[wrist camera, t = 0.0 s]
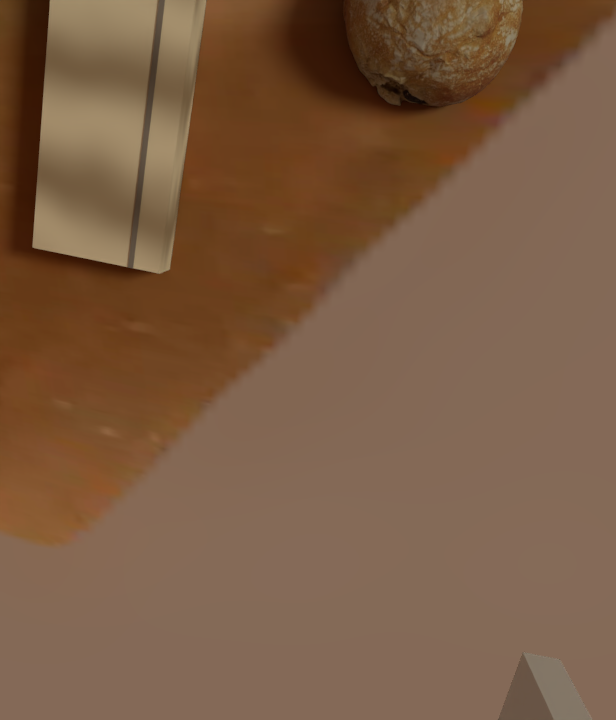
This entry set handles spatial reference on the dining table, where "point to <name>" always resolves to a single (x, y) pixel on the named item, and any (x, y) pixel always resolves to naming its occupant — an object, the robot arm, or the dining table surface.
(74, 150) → the plank
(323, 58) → the dining table surface
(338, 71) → the dining table surface
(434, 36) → the bread roll
